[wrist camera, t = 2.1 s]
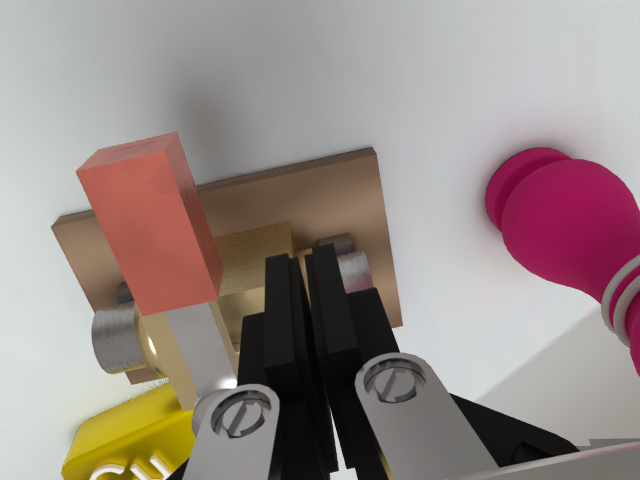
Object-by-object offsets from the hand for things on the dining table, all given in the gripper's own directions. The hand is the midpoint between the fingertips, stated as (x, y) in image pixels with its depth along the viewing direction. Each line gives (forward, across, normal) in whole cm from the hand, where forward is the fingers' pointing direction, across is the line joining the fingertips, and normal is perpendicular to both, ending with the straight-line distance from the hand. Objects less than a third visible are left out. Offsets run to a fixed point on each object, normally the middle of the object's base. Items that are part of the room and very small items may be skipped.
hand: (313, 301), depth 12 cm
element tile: (+21, +14, +25) cm, 35 cm away
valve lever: (+9, +5, +4) cm, 11 cm away
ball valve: (+18, +5, +9) cm, 21 cm away
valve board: (+20, +5, +9) cm, 23 cm away
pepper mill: (+20, -15, +8) cm, 26 cm away
